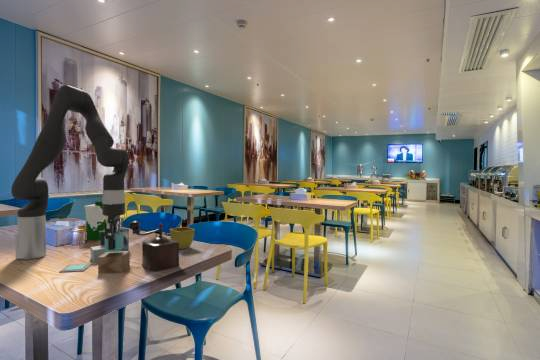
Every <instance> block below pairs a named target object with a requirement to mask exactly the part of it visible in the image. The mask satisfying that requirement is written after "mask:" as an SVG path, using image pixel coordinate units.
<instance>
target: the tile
mask: <svg viewBox="0 0 540 360" xmlns="http://www.w3.org/2000/svg"><path fill="white" fill-rule="evenodd" d="M92 265H93V263H80V264H68V265H67V266H65V267H64V268H62V269H60V271H58V273H74V272H76V271H79V272H85V271H86V270H87V269H89V268H90V267H91V266H92Z"/></svg>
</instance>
